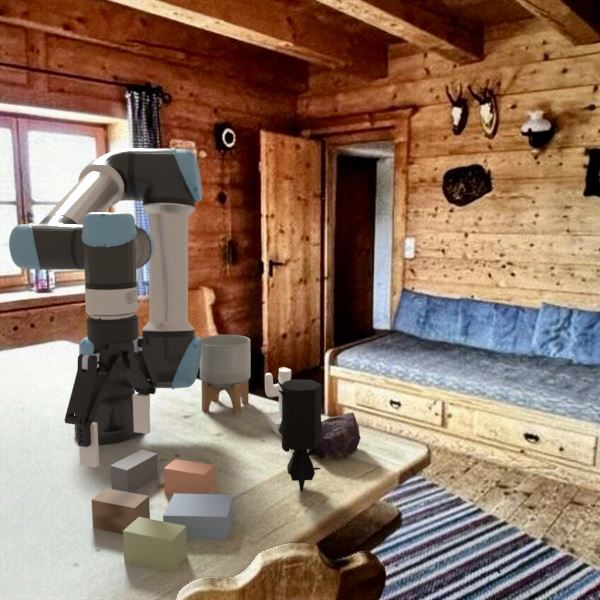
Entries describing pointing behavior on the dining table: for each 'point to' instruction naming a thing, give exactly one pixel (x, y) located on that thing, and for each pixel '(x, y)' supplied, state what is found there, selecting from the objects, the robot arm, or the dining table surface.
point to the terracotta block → (188, 478)
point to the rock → (339, 436)
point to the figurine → (272, 391)
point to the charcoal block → (134, 471)
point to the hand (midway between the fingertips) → (117, 447)
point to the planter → (225, 369)
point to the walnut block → (118, 509)
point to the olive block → (155, 544)
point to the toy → (301, 426)
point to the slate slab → (202, 514)
